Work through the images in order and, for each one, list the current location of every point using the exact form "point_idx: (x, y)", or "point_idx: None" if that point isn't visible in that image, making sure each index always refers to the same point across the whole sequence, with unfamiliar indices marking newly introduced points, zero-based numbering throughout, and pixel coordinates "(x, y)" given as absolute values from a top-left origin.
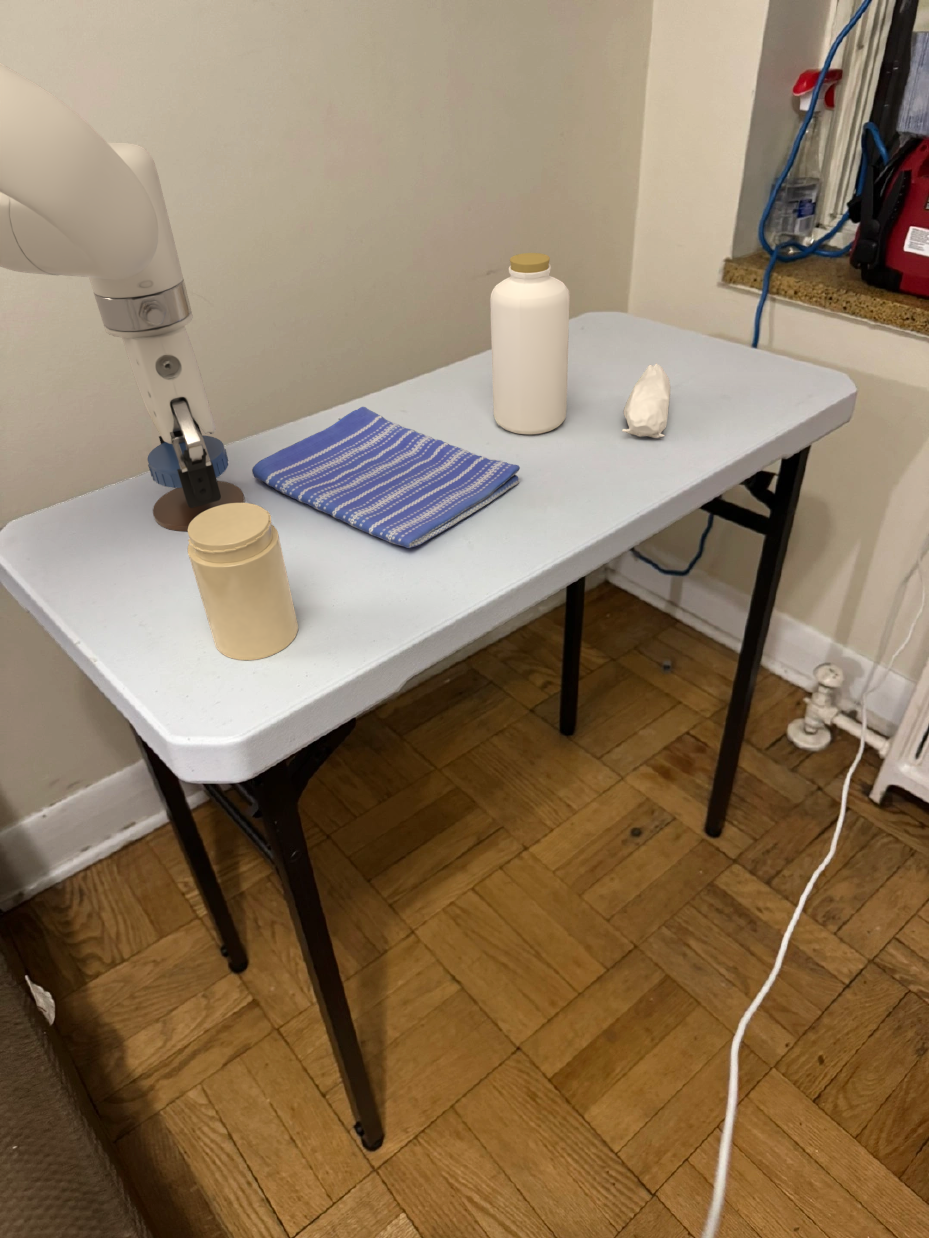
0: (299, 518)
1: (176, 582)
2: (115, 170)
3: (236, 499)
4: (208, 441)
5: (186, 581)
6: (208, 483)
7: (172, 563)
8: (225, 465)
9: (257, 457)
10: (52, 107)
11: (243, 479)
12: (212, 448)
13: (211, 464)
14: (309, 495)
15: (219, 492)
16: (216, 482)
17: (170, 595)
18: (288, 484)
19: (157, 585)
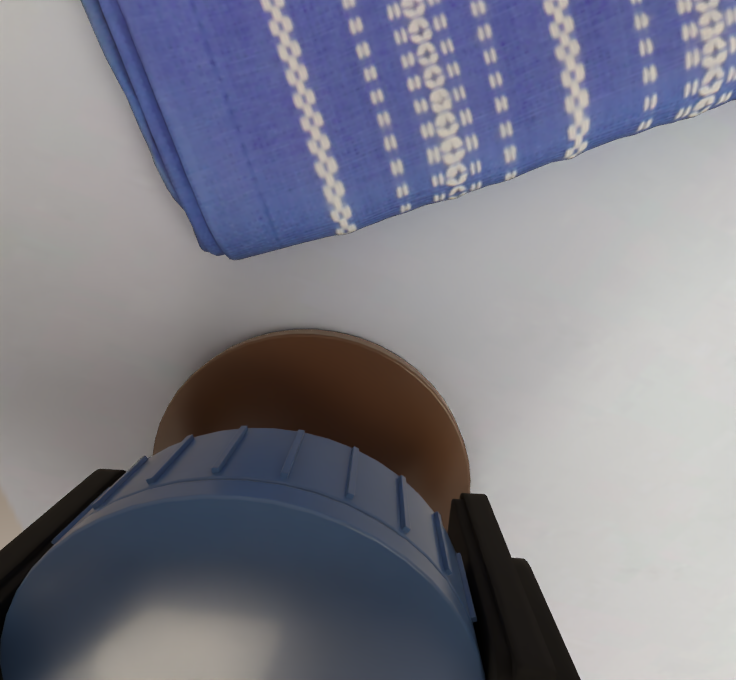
0: (625, 205)
1: (679, 640)
2: None
3: (369, 374)
4: (159, 565)
5: (696, 621)
6: (549, 618)
7: (579, 623)
8: (383, 478)
9: (16, 159)
10: None
11: (186, 282)
12: (292, 579)
13: (548, 664)
14: (631, 107)
15: (490, 511)
16: (506, 554)
17: (726, 666)
18: (461, 157)
19: (654, 676)
